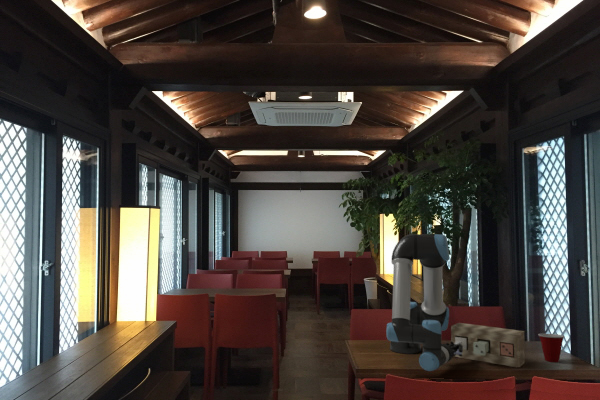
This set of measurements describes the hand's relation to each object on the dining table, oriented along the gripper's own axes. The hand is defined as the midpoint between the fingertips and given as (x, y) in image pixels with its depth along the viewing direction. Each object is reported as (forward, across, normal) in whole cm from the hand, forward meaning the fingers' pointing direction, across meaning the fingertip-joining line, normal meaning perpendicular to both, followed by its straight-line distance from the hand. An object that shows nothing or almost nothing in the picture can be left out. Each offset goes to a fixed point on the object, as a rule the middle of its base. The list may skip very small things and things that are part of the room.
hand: (460, 343), depth 217 cm
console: (+8, +10, -7) cm, 14 cm away
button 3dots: (+6, +20, -2) cm, 21 cm away
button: (+5, 0, -2) cm, 5 cm away
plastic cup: (+24, +34, -7) cm, 42 cm away
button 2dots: (0, +10, -2) cm, 10 cm away
